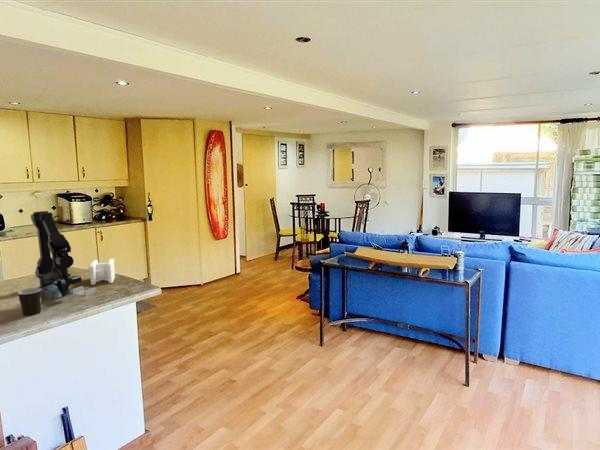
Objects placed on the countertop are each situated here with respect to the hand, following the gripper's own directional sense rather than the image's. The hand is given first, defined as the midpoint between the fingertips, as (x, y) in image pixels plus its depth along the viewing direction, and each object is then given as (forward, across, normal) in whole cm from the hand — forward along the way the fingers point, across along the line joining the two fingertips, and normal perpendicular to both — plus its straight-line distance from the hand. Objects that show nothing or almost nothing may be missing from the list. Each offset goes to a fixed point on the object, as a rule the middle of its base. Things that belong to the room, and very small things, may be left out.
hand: (64, 296), depth 200 cm
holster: (+1, +4, +8) cm, 9 cm away
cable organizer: (+1, -3, +27) cm, 27 cm away
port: (+1, -6, 0) cm, 6 cm away
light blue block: (+1, -5, 0) cm, 5 cm away
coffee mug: (+2, +4, -20) cm, 20 cm away
